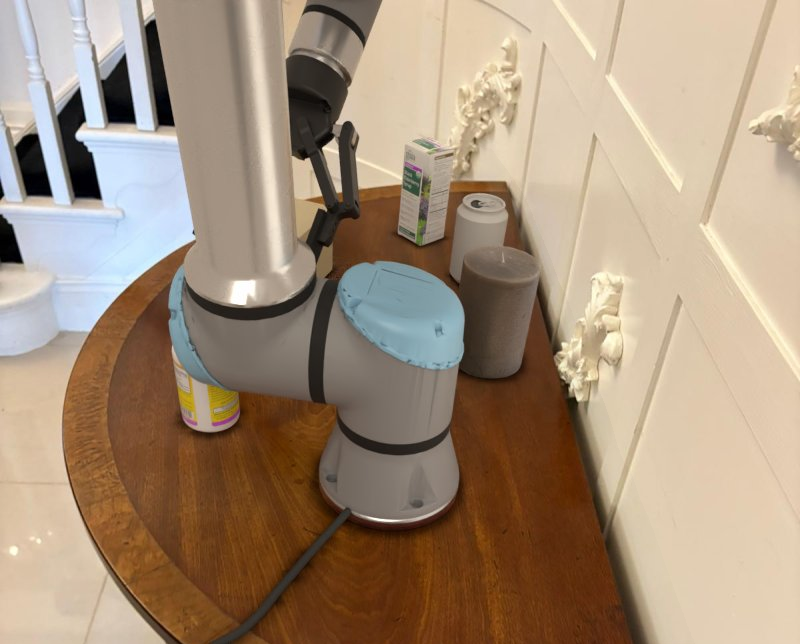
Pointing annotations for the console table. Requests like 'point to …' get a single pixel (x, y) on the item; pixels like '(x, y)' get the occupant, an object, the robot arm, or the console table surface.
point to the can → (477, 227)
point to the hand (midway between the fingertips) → (251, 255)
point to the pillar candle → (496, 308)
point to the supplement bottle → (205, 402)
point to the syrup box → (425, 190)
